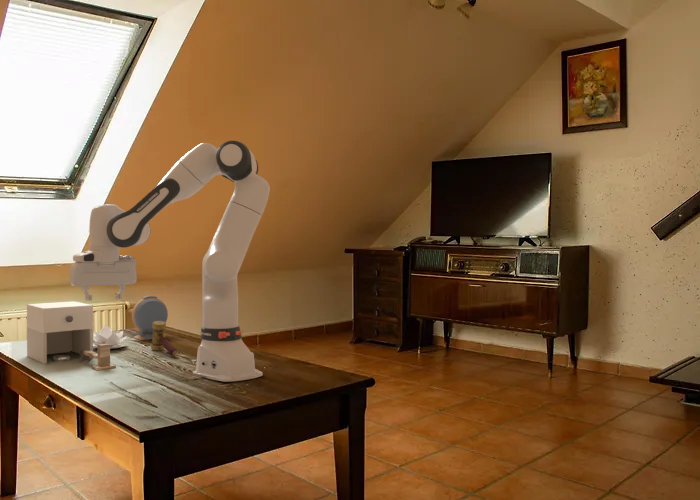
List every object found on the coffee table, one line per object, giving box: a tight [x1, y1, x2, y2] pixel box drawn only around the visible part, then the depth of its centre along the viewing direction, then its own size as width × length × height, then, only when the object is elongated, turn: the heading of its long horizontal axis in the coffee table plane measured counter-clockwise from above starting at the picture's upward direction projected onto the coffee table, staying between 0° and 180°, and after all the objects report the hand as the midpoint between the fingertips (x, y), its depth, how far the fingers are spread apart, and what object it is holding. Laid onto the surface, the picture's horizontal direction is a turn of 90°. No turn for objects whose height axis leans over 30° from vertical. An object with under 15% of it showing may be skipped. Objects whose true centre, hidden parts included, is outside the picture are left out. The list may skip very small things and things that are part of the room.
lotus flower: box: [93, 325, 128, 350], centre depth 236 cm, size 14×15×9 cm
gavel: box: [150, 321, 179, 357], centre depth 227 cm, size 21×5×10 cm, turn 36°
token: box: [52, 354, 70, 362], centre depth 216 cm, size 5×5×1 cm
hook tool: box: [80, 344, 117, 371], centre depth 207 cm, size 19×6×8 cm, turn 42°
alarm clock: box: [131, 295, 169, 341], centre depth 260 cm, size 14×10×18 cm
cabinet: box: [26, 301, 94, 365], centre depth 219 cm, size 19×16×18 cm
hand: (103, 299), depth 201 cm, fingers open, 8 cm apart
